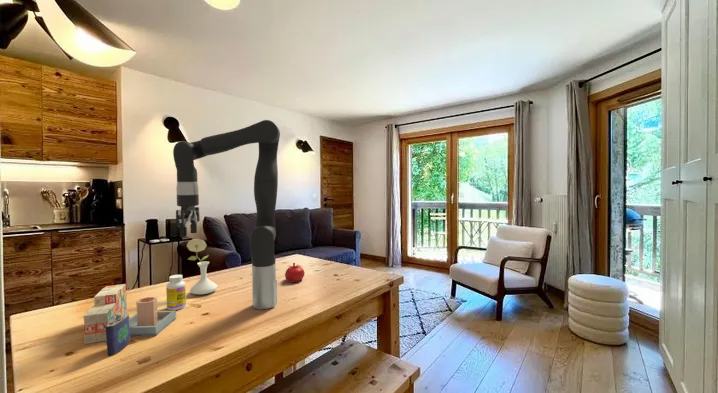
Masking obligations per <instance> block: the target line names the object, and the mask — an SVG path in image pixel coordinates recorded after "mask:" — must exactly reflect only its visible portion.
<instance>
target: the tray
mask: <svg viewBox="0 0 718 393" xmlns="http://www.w3.org/2000/svg"><path fill="white" fill-rule="evenodd" d="M157 317H158V322H157V324H156V325H155V326H137V313H135V314H134V315H132V316H131V317H129V332H130V338H131V337H135V338H136V337H156V336H157V335H159V334H160V333H161V332H162V331H163V330H165V329H166V328H167V327H168V326H169V325H170V324H172V322H174V321H176V319H177V310H157Z"/></svg>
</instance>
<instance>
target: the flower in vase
mask: <svg viewBox="0 0 718 393" xmlns="http://www.w3.org/2000/svg"><path fill="white" fill-rule="evenodd" d="M207 246H208V245H207V243H206V241H205V240H204V239H201V238H195V239H194V238H192V239H191V240H189V241H188V242H187V244H186V248H187V249H188V251H190V252H194V253H196V255H195V256H194V255H191V256H190V257H188V258H187V260H189V261H196V260H197V259H198V260H199V262H197V266H198V267H199V268H200V269H199V271H200V279H199V280H198V281H197V282H195V284H193V286H192V287H190V289H189V292H190V293H191V294H193V295H206V294H211V293H213V292H215V291H216V290H218V284H216V283H215V282H213V280H210V279H209V278H208V277H207V268H208V266H209V264H210V261H206V259H207V258H208V257H209V256H210V254H207V255H206V256H203V257H202V258H201V259H200V257H198V253H199V252H202V251H205V250H206V248H207ZM204 260H205V261H204Z"/></svg>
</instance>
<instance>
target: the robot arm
mask: <svg viewBox="0 0 718 393" xmlns="http://www.w3.org/2000/svg"><path fill="white" fill-rule="evenodd" d="M280 136H281V131H280V129H279V127H278V125H277V124H276V123H275V122H274V121H272V120H269V119H264V120H261V121H259V122H255V123H254V124H251V125H248V126H245V127H244V128H240V129H237V130H236V129H235V130H232V131H228V132H223V133H219V134H215V135H210V136H206V137H203V138H201V139H200V140H197V141H192V142H188V141H185V140H182V141H178V142H177V143H175V144H174V146H173V149H172V150H173V151H172V154H173V155H172V156H173V160H174V166H175V168H176V206H178V207H180V209H176V210H175V226H176V227H178V228H179V237H181V238H186V237H188V230H187V229H188V228H187V226H188V223H190V233H191V234H197V232H198V223H199V222H200V221H201V219H200V207H199V205H200V202H199V200H200V198H199V196H200V195H199V183H198V170H197V167H195V163H194V162H195V161H196V160H199V159H202V158H205V157H208V156H212V155H217V154H222V153H224V152H225V153H226V152H229V151H232V150H233V149H234V150H235V149H236V148H239V147H242V146H245V145H251V144H258V157H257V158H258V159H257V163H256V168H255V173H254V178H253V179H254V181H253V196H254V197H253V198H254V202H255V206H256V220H255V227H254V229H253V230H252V231H251V233H250V237H249V248H250V251H249V252H250V260H251V275H252V277H251V280H252V281H251V282H252V283H251V284H252V286H251V287H252V289H251V290H252V308H253V309H255V310H267V309H270V308H272V309H273V308H275V307H276V305H277V303H278V280H277V279H276V276H277V275H276V272H277V271H276V255H275V240H276V237H277V231H276V230H277V229H276V217H275V216H276V207H277V206H276V205H277V196H278V184H279V183H278V182H279V179H278V178H279V175H278V172H279V170H278V149H279V142H280V138H281V137H280Z"/></svg>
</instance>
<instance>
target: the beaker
mask: <svg viewBox="0 0 718 393" xmlns="http://www.w3.org/2000/svg"><path fill="white" fill-rule="evenodd" d="M135 303H136V304H135V305H136V314H137V326H155V325H156V324H157V322H158V317H157V311H158V298H157V297H156V296H147V297H142V298H139V299H138V300H136V302H135Z"/></svg>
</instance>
